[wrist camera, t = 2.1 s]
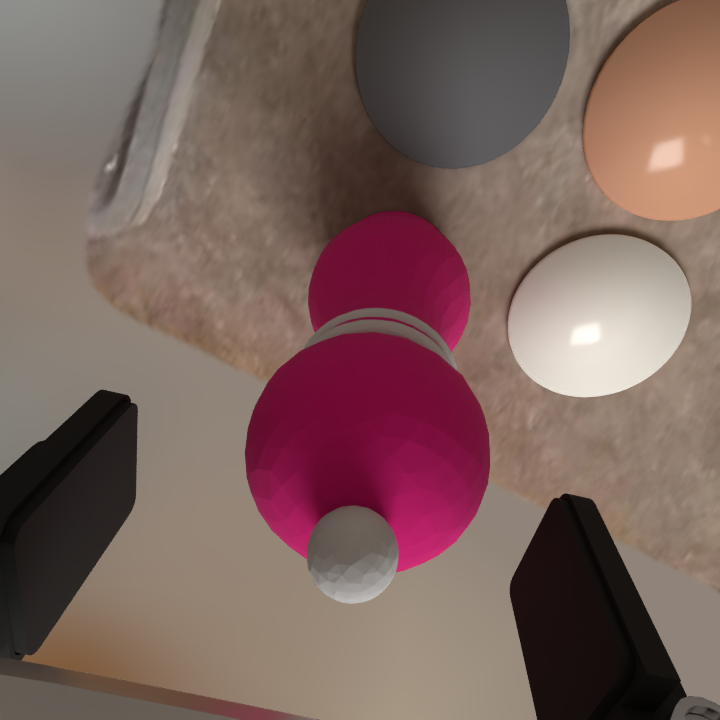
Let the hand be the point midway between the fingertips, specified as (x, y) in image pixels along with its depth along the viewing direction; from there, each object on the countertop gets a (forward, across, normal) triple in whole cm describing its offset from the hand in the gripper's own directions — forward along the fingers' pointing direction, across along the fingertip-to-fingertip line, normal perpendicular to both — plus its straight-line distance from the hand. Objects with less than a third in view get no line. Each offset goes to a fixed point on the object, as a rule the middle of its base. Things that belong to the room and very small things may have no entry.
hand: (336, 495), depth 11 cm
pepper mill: (+18, -1, 0) cm, 18 cm away
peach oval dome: (+18, -12, -10) cm, 24 cm away
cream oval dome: (+18, -12, 0) cm, 21 cm away
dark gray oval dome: (+18, -1, -10) cm, 20 cm away
